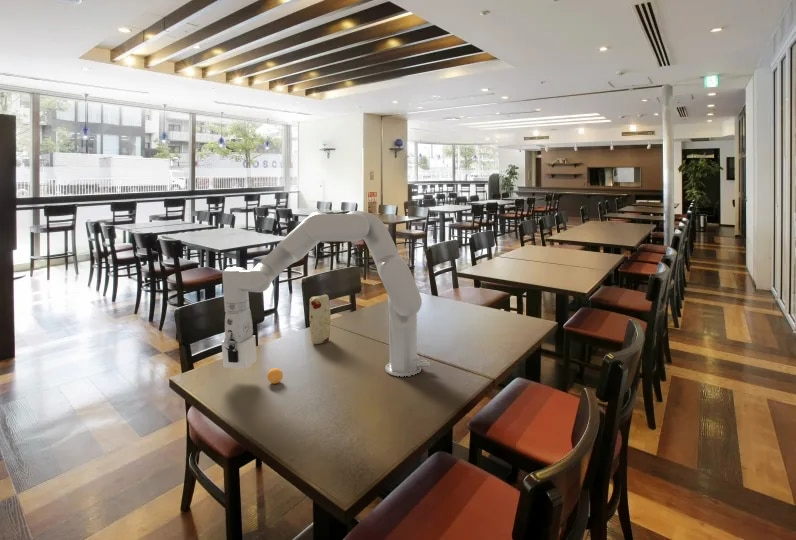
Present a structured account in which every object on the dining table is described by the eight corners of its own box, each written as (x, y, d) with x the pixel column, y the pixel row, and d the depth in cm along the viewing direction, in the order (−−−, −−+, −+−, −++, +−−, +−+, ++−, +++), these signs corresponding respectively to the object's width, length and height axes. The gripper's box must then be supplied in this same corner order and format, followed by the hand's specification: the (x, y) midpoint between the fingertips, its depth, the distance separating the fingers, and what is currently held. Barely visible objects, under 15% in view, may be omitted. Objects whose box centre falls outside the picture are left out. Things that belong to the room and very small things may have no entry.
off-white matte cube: (256, 360, 155) (255, 335, 153) (245, 369, 147) (243, 343, 146) (235, 358, 156) (234, 333, 154) (223, 367, 149) (221, 341, 147)
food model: (317, 347, 182) (315, 298, 178) (306, 343, 187) (303, 296, 183) (335, 340, 190) (333, 294, 186) (324, 337, 194) (322, 291, 190)
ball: (285, 380, 153) (284, 366, 152) (279, 386, 148) (278, 372, 147) (271, 379, 154) (270, 365, 153) (264, 385, 149) (263, 371, 148)
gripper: (233, 314, 139) (237, 368, 142) (260, 299, 156) (262, 348, 159) (210, 312, 140) (214, 366, 143) (239, 298, 157) (242, 347, 160)
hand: (240, 356), depth 151 cm, fingers closed on off-white matte cube, 7 cm apart
